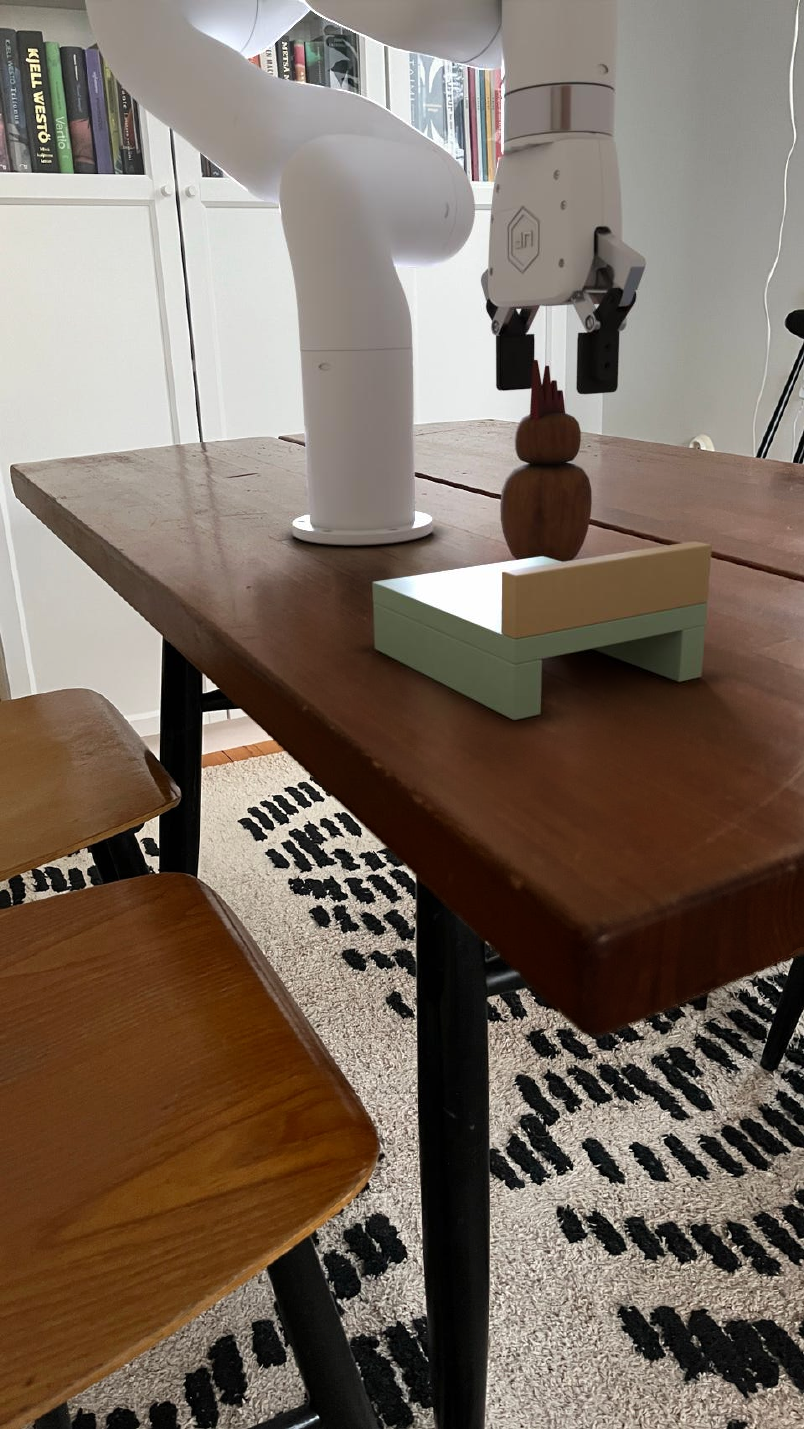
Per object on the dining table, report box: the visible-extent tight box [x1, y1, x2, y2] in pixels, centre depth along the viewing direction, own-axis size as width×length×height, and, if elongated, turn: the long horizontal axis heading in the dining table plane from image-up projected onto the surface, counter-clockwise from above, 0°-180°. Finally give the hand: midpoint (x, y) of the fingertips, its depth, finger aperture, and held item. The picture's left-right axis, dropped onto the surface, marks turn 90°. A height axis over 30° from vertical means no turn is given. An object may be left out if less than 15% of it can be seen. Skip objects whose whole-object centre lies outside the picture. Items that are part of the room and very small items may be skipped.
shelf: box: [371, 540, 713, 721], centre depth 57 cm, size 14×12×7 cm
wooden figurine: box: [499, 359, 593, 562], centre depth 79 cm, size 7×6×15 cm
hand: (554, 391), depth 77 cm, fingers open, 9 cm apart
